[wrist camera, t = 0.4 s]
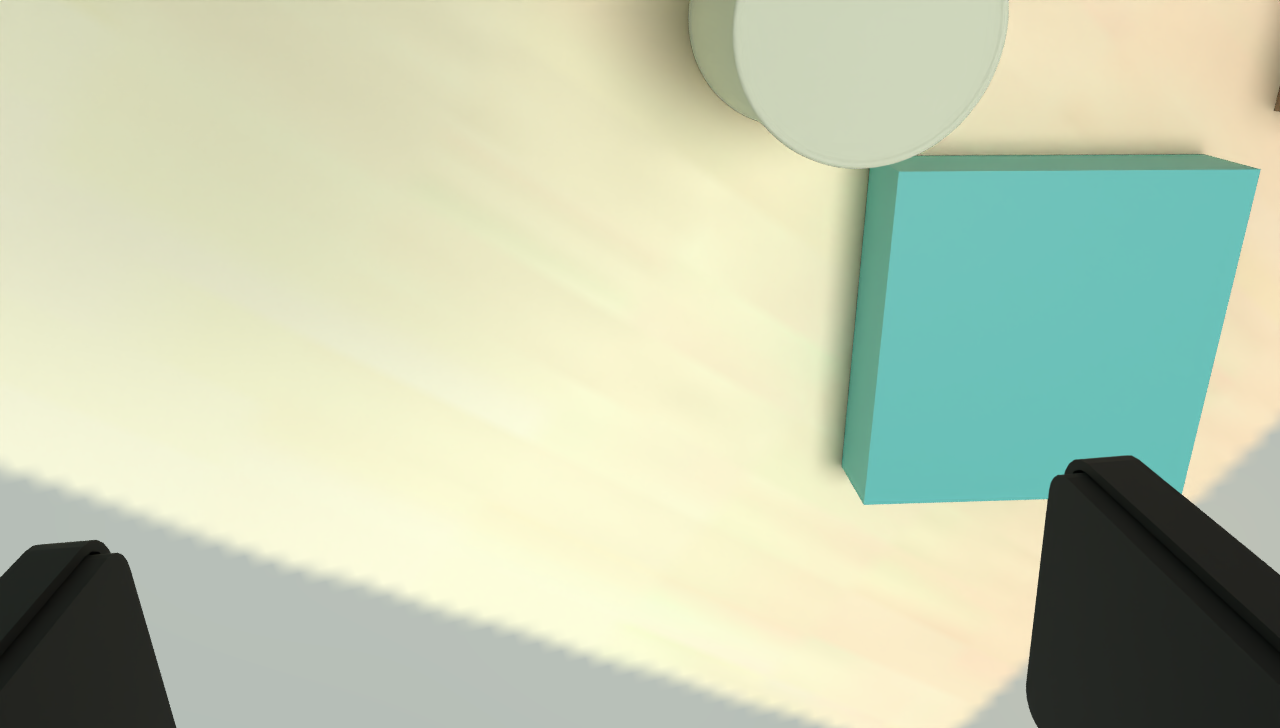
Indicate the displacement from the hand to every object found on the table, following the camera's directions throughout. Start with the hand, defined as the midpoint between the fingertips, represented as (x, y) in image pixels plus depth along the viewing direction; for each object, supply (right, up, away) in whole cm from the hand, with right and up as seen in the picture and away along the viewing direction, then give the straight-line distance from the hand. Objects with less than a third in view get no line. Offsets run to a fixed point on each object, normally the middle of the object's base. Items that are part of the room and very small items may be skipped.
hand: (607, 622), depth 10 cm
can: (+7, +18, +32) cm, 37 cm away
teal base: (+19, +5, +38) cm, 43 cm away
